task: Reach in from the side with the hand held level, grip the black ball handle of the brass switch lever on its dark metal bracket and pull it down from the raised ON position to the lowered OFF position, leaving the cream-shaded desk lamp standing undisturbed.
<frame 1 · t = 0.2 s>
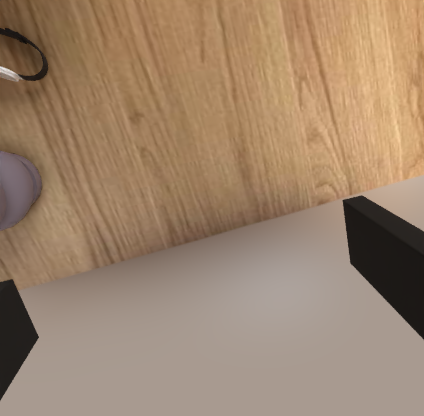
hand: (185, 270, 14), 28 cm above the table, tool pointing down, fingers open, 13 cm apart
watch: (13, 56, 37), on the table
cat figurine: (12, 180, 41), on the table
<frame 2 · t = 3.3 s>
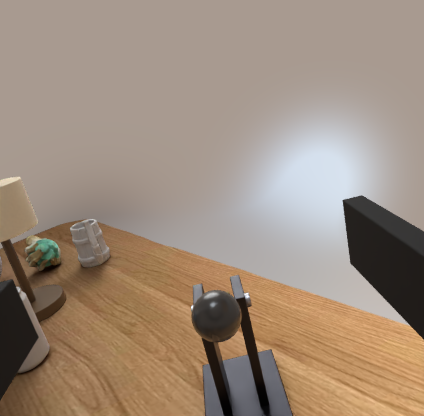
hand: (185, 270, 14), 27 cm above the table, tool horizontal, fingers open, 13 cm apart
lamp: (35, 309, 74), on the table
switch bracket: (245, 403, 41), on the table
scepter: (38, 259, 101), on the table
lamp switch: (219, 310, 31), point 16 cm above the table, hinge at 30.0°
mug: (98, 263, 89), on the table
beverage can: (30, 361, 58), on the table
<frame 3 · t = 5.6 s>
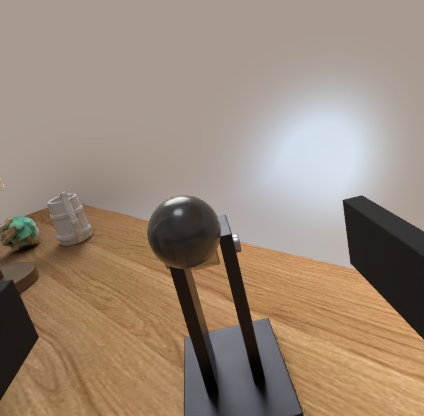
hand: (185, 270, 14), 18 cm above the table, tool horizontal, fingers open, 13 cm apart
lamp: (3, 288, 65), on the table
switch bracket: (236, 380, 33), on the table
scepter: (15, 241, 93), on the table
lamp switch: (195, 243, 23), point 16 cm above the table, hinge at 30.0°
mug: (78, 241, 81), on the table
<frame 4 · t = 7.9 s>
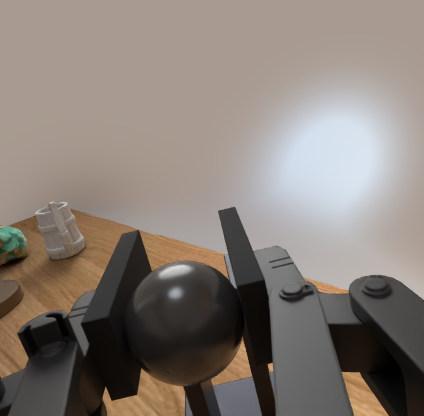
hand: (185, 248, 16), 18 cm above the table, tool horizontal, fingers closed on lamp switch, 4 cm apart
scepter: (3, 252, 86), on the table
lamp switch: (200, 308, 16), point 16 cm above the table, hinge at 30.0°, touching gripper
mug: (70, 255, 74), on the table
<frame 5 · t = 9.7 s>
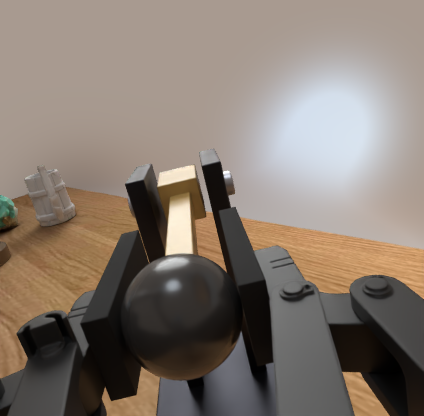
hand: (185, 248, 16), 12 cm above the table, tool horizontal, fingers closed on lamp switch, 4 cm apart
switch bracket: (228, 370, 25), on the table
lamp switch: (182, 236, 16), point 13 cm above the table, hinge at -3.7°, touching gripper
mug: (60, 222, 73), on the table
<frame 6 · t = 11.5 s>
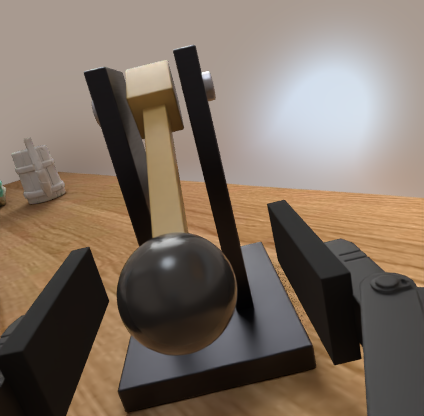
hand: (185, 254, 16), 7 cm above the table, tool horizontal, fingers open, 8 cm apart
switch bracket: (212, 314, 22), on the table
lamp switch: (163, 175, 15), point 10 cm above the table, hinge at -30.5°
mug: (49, 200, 71), on the table
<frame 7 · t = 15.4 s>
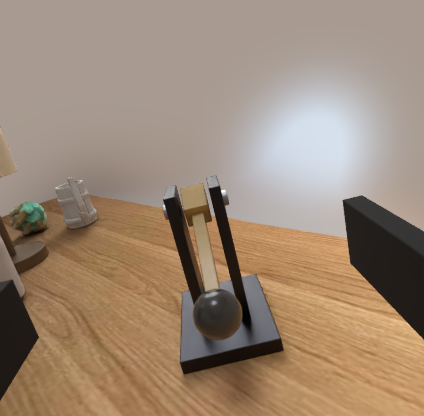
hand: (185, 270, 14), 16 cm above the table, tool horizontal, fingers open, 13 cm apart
lamp: (16, 264, 70), on the table
switch bracket: (226, 321, 38), on the table
scepter: (24, 227, 98), on the table
lamp switch: (205, 254, 30), point 10 cm above the table, hinge at -30.5°
mug: (85, 225, 86), on the table
beverage can: (5, 305, 54), on the table
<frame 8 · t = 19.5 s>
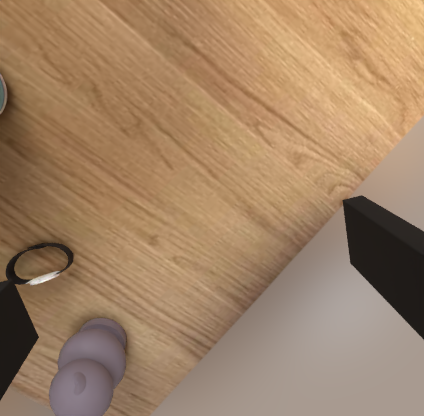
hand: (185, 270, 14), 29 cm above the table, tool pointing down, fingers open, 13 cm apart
watch: (45, 258, 44), on the table
cat figurine: (101, 337, 48), on the table
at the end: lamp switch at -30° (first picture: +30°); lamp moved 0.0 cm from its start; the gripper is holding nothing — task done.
